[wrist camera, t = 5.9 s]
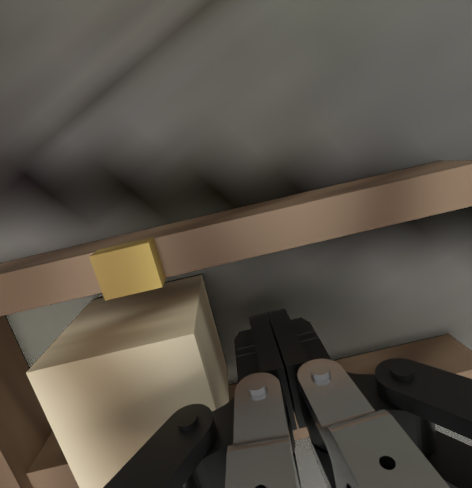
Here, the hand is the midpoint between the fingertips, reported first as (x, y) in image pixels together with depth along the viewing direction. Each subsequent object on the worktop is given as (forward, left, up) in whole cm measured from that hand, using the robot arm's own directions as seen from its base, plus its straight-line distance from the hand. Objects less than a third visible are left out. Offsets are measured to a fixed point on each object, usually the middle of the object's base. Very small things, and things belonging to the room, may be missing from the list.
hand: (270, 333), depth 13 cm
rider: (+5, 0, -2) cm, 5 cm away
